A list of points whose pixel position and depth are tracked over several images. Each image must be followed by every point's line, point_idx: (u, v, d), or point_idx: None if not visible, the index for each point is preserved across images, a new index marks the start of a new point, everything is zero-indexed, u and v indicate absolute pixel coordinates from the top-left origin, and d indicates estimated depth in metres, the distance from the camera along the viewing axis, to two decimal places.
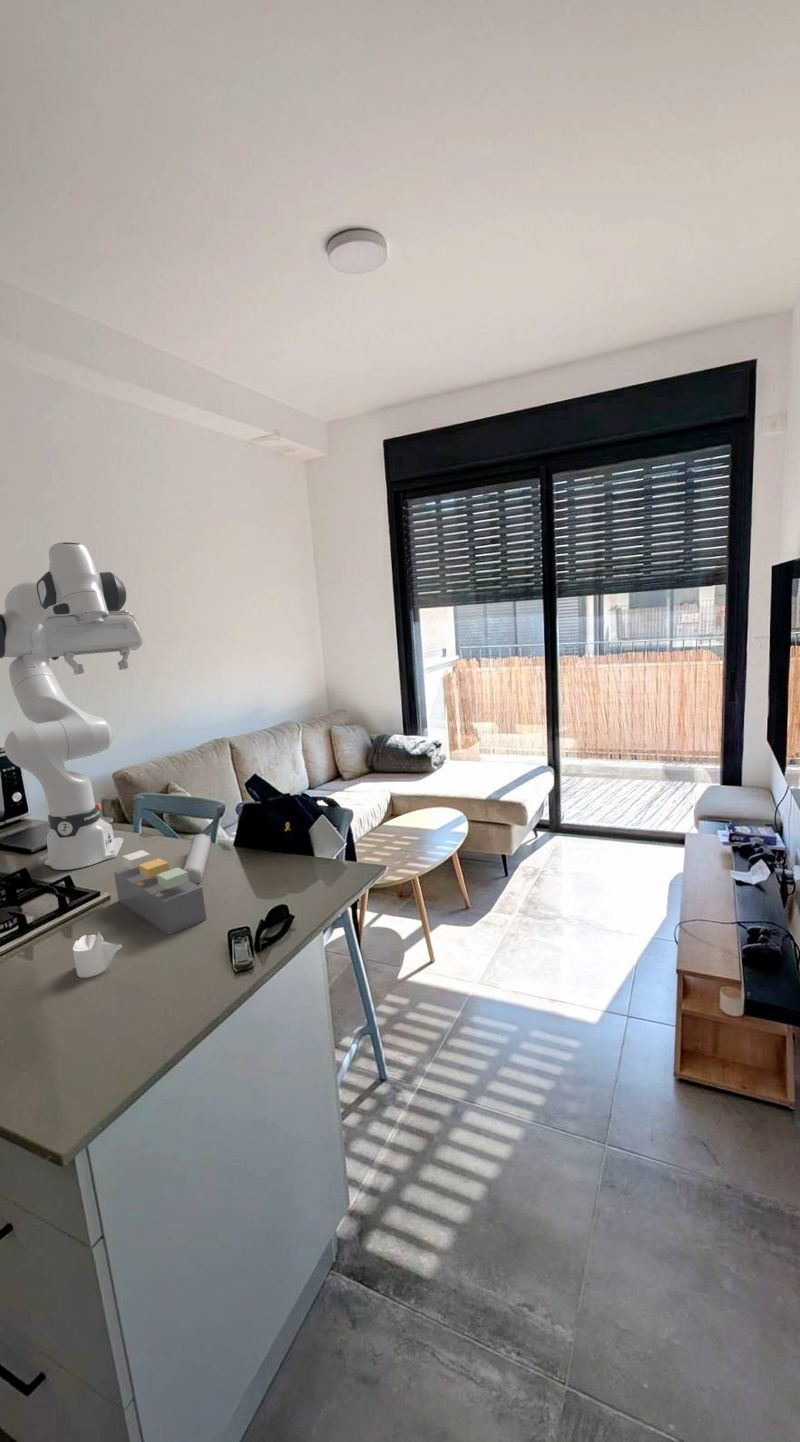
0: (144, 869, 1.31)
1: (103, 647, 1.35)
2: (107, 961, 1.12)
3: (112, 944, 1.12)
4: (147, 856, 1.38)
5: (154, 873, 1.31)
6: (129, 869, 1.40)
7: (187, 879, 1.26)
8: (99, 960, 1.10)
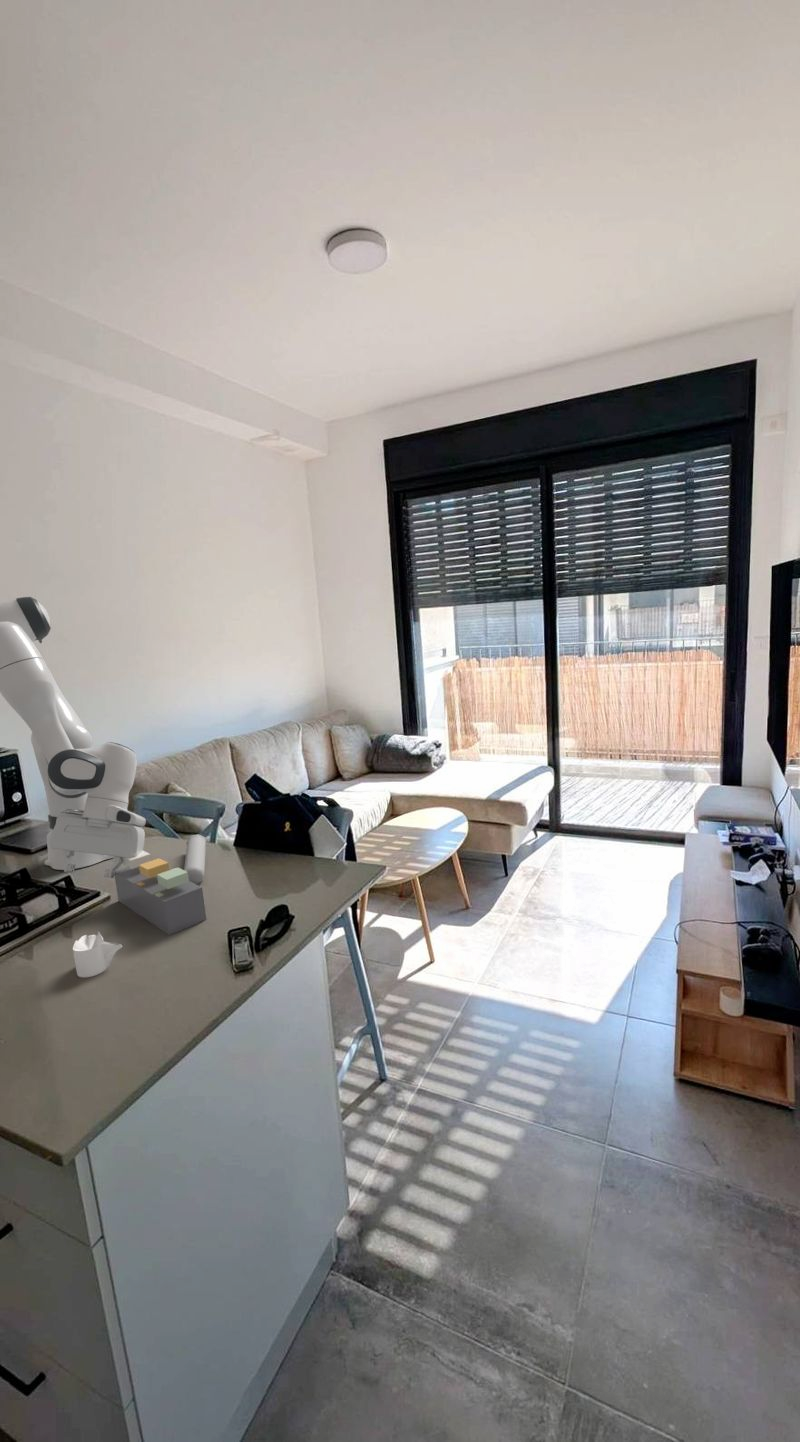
0: (144, 869, 1.31)
1: None
2: (107, 961, 1.12)
3: (112, 944, 1.12)
4: (147, 856, 1.38)
5: (154, 873, 1.31)
6: (129, 869, 1.40)
7: (187, 879, 1.26)
8: (99, 960, 1.10)
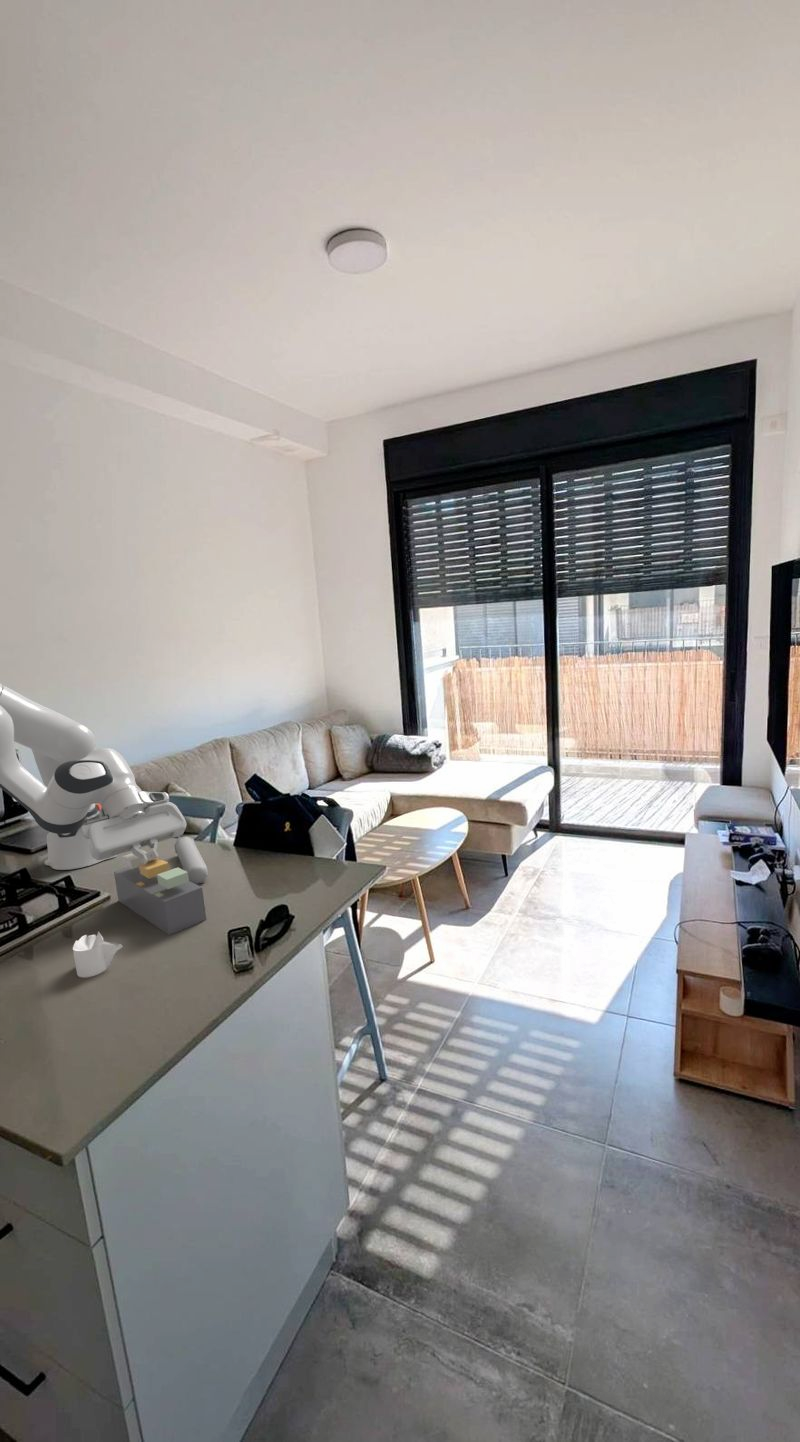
0: (144, 869, 1.31)
1: None
2: (107, 961, 1.12)
3: (112, 944, 1.12)
4: None
5: (154, 873, 1.31)
6: (129, 869, 1.40)
7: (187, 879, 1.26)
8: (99, 960, 1.10)
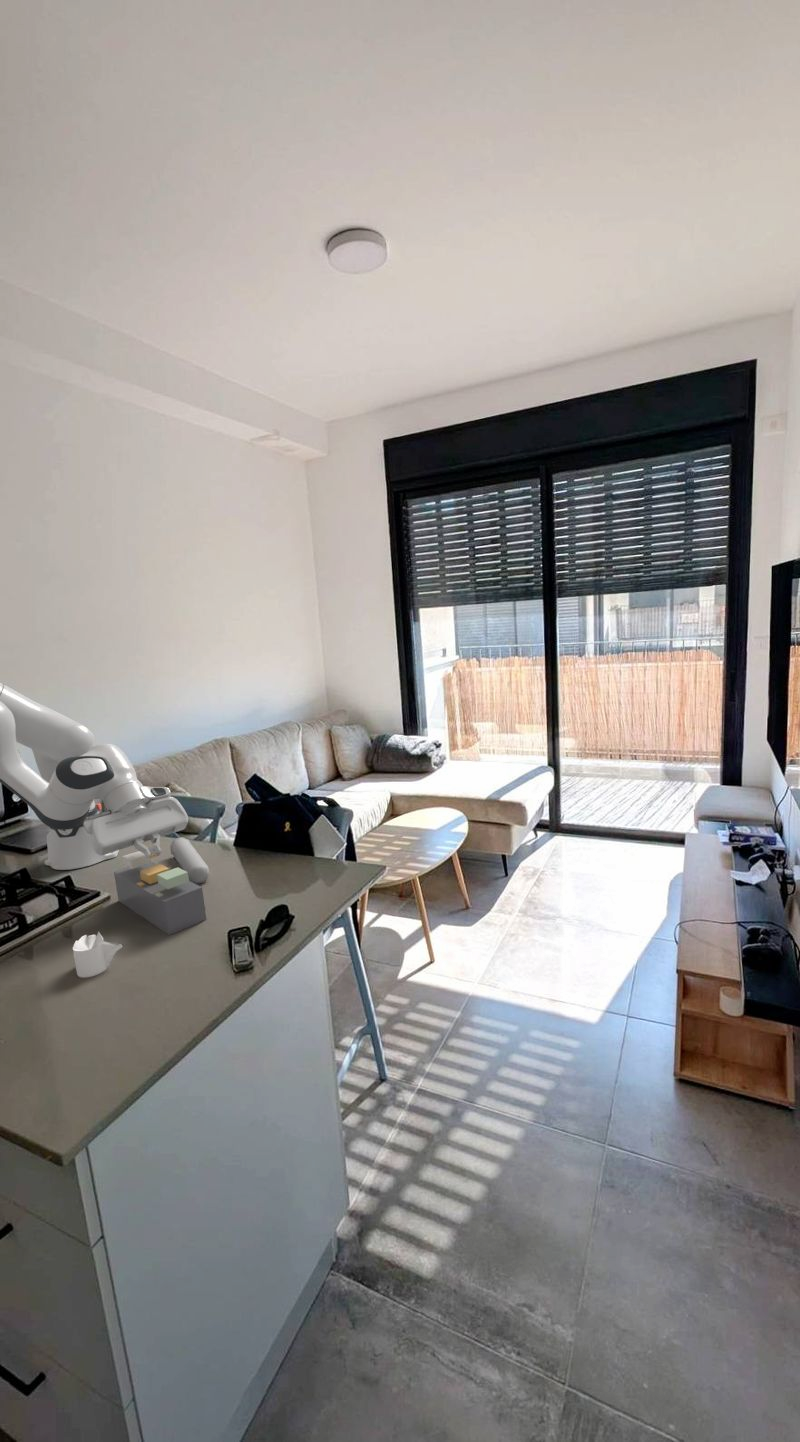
0: (145, 875, 1.31)
1: None
2: (107, 961, 1.12)
3: (112, 944, 1.12)
4: None
5: (155, 879, 1.31)
6: (129, 869, 1.40)
7: (187, 879, 1.26)
8: (99, 960, 1.10)
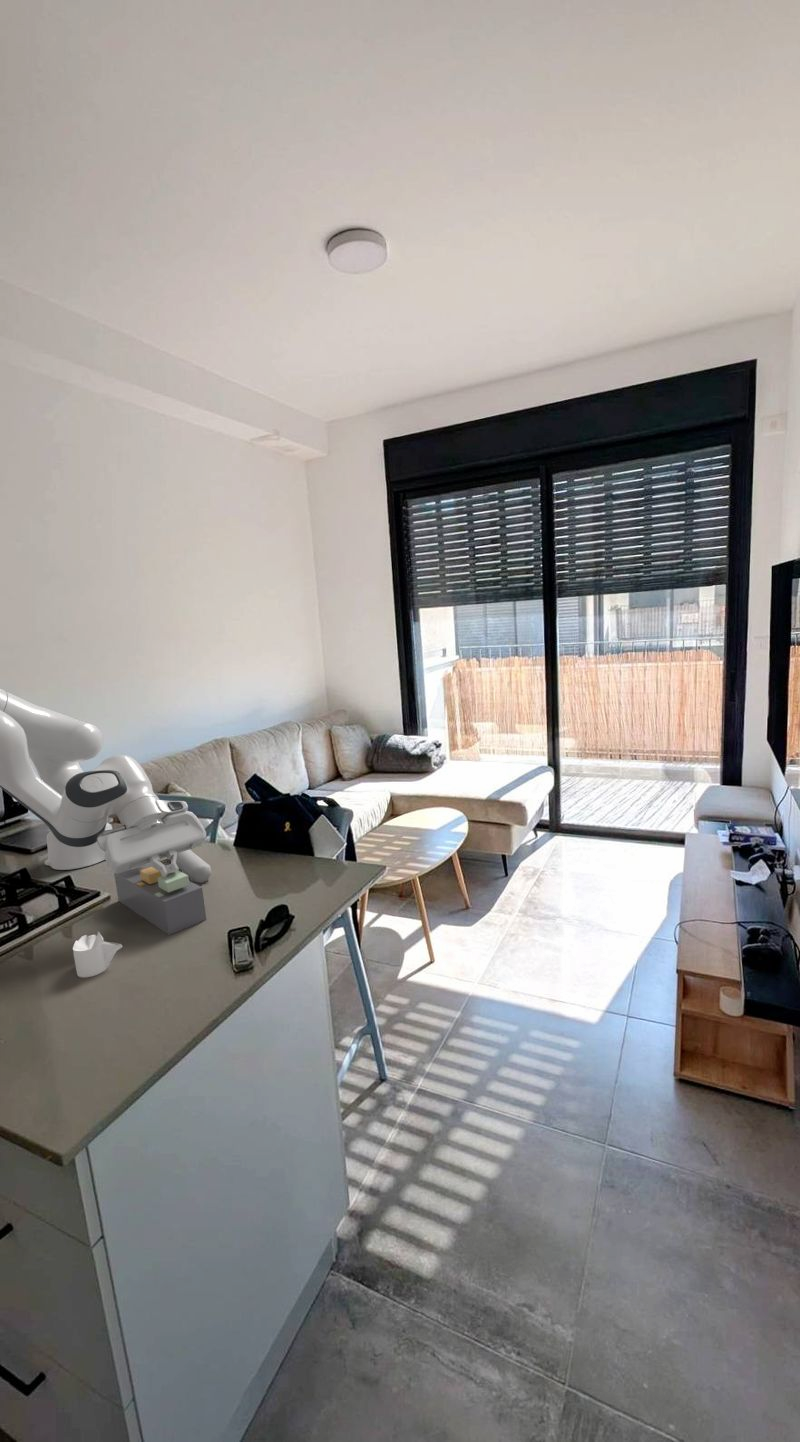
0: (145, 875, 1.31)
1: None
2: (107, 961, 1.12)
3: (112, 944, 1.12)
4: None
5: (155, 879, 1.31)
6: (129, 869, 1.40)
7: (187, 882, 1.26)
8: (99, 960, 1.10)
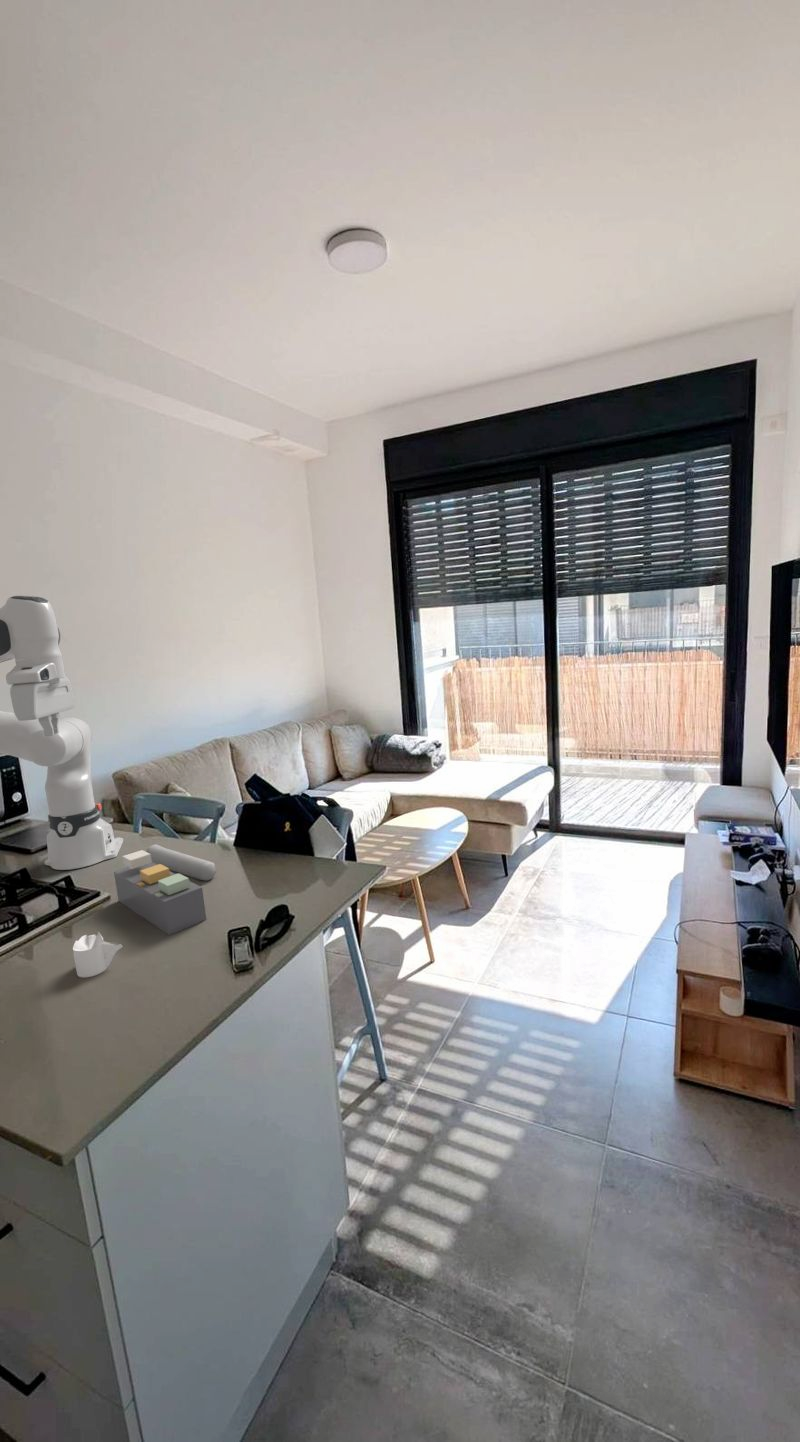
0: (145, 875, 1.31)
1: (58, 712, 1.35)
2: (107, 961, 1.12)
3: (112, 944, 1.12)
4: (147, 856, 1.38)
5: (155, 879, 1.31)
6: (129, 869, 1.40)
7: (188, 885, 1.26)
8: (99, 960, 1.10)
